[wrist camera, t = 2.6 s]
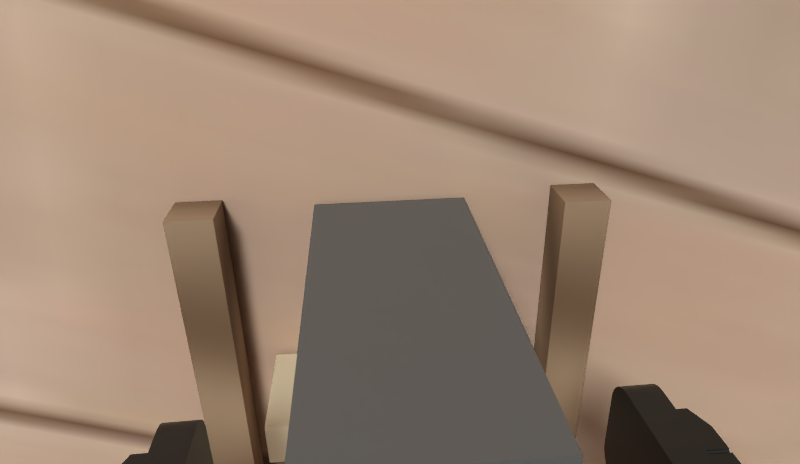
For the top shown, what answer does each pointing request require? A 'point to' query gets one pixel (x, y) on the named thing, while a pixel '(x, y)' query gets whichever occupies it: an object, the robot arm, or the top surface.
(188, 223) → the lane
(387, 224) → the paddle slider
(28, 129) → the top surface
